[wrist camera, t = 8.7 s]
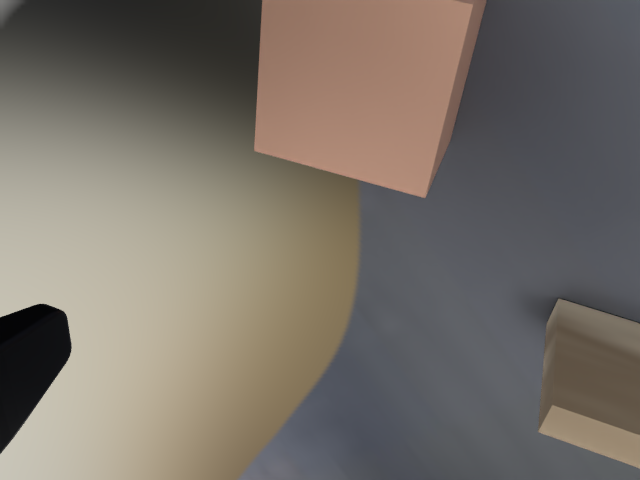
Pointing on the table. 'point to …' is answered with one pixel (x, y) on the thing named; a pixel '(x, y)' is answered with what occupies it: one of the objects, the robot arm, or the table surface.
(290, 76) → the terracotta block
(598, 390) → the open wooden frame
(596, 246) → the table surface
